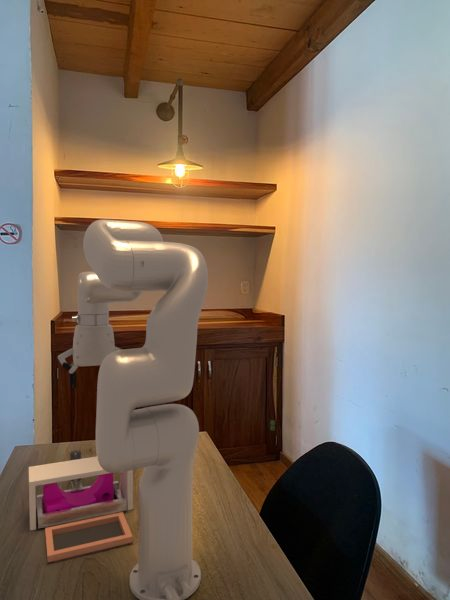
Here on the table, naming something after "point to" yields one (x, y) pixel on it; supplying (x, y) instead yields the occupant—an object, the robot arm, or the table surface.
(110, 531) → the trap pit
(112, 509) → the slider
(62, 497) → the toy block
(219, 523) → the table surface
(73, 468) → the tunnel
